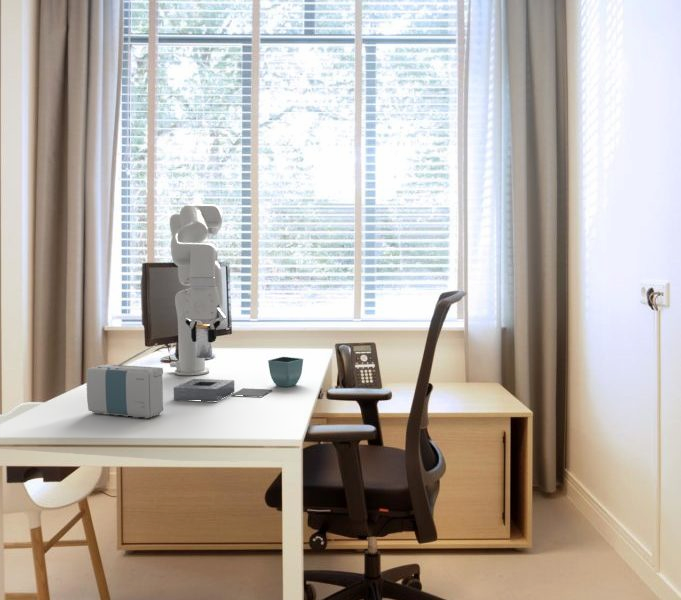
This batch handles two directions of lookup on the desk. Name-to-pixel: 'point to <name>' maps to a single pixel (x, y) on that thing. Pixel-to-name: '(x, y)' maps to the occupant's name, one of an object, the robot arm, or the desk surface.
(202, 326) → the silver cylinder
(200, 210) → the robot arm
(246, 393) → the mat
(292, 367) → the flower pot
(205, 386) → the housing
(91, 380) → the grey teal equipment box
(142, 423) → the desk surface
